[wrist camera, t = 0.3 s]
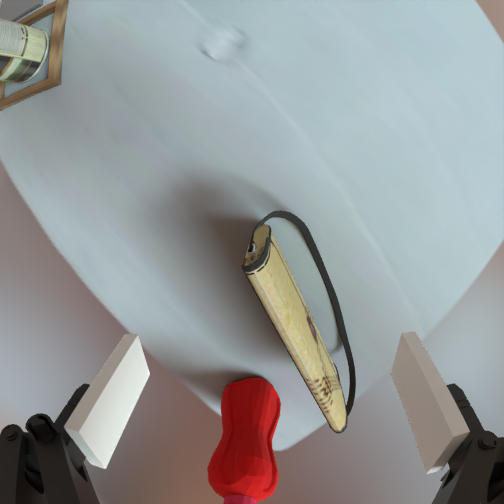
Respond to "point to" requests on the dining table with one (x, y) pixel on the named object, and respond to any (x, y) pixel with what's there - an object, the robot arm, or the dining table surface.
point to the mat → (17, 8)
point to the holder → (54, 57)
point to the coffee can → (21, 51)
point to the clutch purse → (299, 319)
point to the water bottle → (246, 443)
